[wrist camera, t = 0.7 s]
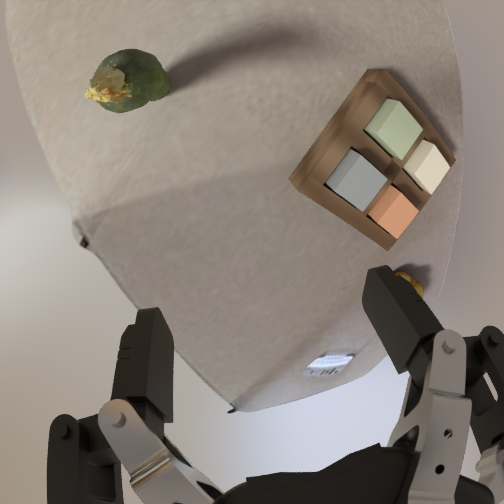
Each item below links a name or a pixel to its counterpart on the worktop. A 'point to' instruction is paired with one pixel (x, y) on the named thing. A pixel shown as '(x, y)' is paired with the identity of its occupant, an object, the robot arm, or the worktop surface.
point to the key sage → (393, 128)
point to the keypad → (365, 154)
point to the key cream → (427, 166)
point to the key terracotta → (393, 212)
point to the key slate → (356, 180)
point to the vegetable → (128, 81)
